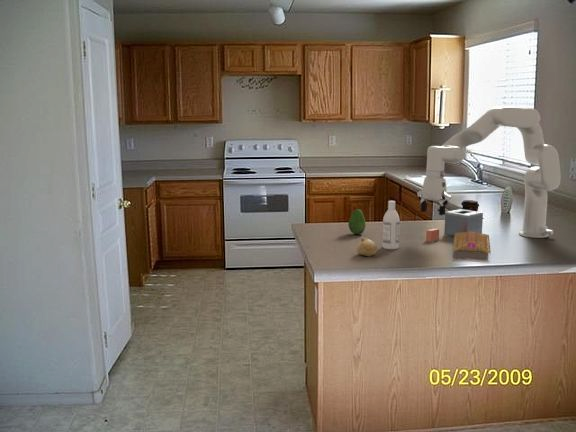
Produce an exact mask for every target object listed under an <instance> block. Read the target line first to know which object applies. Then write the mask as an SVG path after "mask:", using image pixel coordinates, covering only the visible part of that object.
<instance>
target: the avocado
mask: <svg viewBox="0 0 576 432" xmlns="http://www.w3.org/2000/svg"><path fill="white" fill-rule="evenodd" d="M348 229H349V230H350V233H352V234H354V235H356V234H359V235H361V234H363V233H364V231H365V229H366V219H365V216H364V213H363V210H361V209H358V208H357V209H355V210H353V211H352V213H351V214H350V217H349V219H348Z"/></svg>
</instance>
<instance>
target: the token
mask: <svg viewBox="0 0 576 432" xmlns="http://www.w3.org/2000/svg"><path fill="white" fill-rule="evenodd" d="M425 232H426V234H425V242H428V241H429V242H428V243H433V242H436V240H437V241H439V240H440V229H439V228H431V229H426V231H425ZM432 241H433V242H432Z"/></svg>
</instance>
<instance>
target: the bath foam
mask: <svg viewBox="0 0 576 432" xmlns="http://www.w3.org/2000/svg"><path fill="white" fill-rule="evenodd" d="M387 203H388V205H387V208H388V209H387V210H386V212H385V213H384V215H383V218H382V238H381V239H382V240H381V241H382V243H381V245H382V248H383V249H385V250H397V249H399V247H400V228H401V227H400V224H401V221H400V220H401V219H400V216H399V214H398V211H397V210H396V201H395V200H388V202H387Z"/></svg>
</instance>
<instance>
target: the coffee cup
mask: <svg viewBox="0 0 576 432" xmlns="http://www.w3.org/2000/svg"><path fill="white" fill-rule="evenodd" d="M478 202H479V201H477V200H473V199H463V201H461V203H460V204H461V206H462V207H461V209H463V210H470V211H477V212H479V207H480V204H479V203H478Z"/></svg>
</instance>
